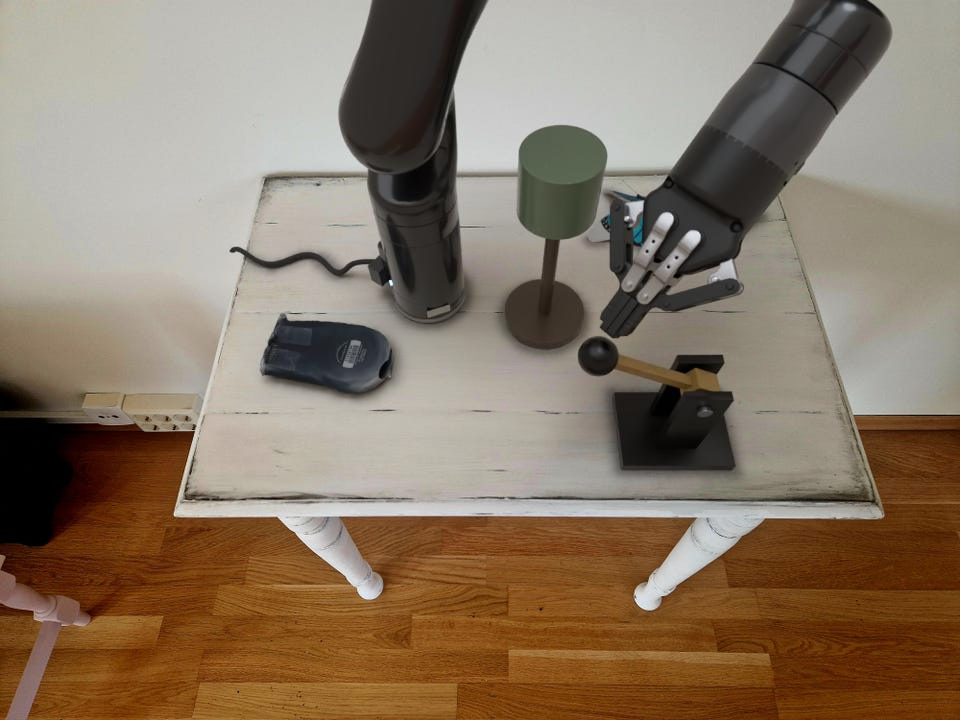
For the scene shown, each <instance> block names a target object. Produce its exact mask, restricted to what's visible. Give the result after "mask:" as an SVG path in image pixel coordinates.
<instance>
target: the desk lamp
mask: <svg viewBox="0 0 960 720" xmlns="http://www.w3.org/2000/svg"><path fill="white" fill-rule="evenodd" d="M517 156H518V159H517V183H516V188H517V189H516V210H515V211H516V216H517V219H518V221H519V223H520V224H521V226H522V227H524V229H526V230H527V231H528V232H529V233H531V234H533V235H535V236H537V237H539V238H541V239H542V238H543V239H544V246H543V248H544V249H543V256H542V267H541V275H540V278H538V279H537V278H536V279H531V280H527V281H525V282H523V283H521V284H519V285H518V286H517V287H515V288H514V289H513V290H512V291H511V292H510V294H509V295H508V296H507V298H506V301H505V304H504V323H505V326H506V328H507V330H508V332H509V334H510V335H511V336H512V337H513V338H514V339H515V340H516V341H518V342H519V343H520V344H522V345H524V346H526V347H529V348H532V349H537V350H545V351H546V350H554V349H558V348H561V347H563V346H566V345H568V344H569V343H571V342H572V341H573V340H575V338H576V337H578V334H579V333H580V331H581V329H582V326H583V322H584V317H585V308H584V307H585V306H584V303H583V301H582V299H581V297H580V296H579V294H578V293H577V291H575V289H573V288H572V287H570V286H569V285H567V284H565V283H564V282H561V281H558V280H556V274H557V267H558V259H559V251H560V246H561V245H560V243H561V240H569V239H573V238H576V237H579V236H581V235H583V234H584V233H586V232H587V231H588V230H590V229H591V228H592V226H593V224H594V223H595V220H596V217H597V212H598V208H599V204H600V198H601V193H602V189H603V182H604V177H605V174H606V167H607V164H608V157H609V156H608V150H607V147H606V145H605V143H604V142H603V141H602V140H601V139H600V137H598V136H597V135H596V134H595V133H593V132H591V131H589V130H587V129H585V128H582V127H579V126H575V125H569V124H554V125H547V126H544V127H540V128H537V129H536V130H534V131H532V132H531V133H529V134H528V135H527V136H526V137H525V138H524V139H523V140H522V142H521V143H520V145H519V148H518V155H517Z"/></svg>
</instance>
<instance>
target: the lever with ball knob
mask: <svg viewBox="0 0 960 720" xmlns="http://www.w3.org/2000/svg"><path fill="white" fill-rule="evenodd" d="M577 363H578V365H579V367H580V368H581V370H582V371H583V372H584V373H586V374H587V375H589V376H592V377H604V376H608V375H610V374H611V373H612V372H614V370H615V371H619V372H622V373H626V374H629V375H633V376H636V377H639V378H643V379H646V380H650V381H653V382H656V383H660V384H662V383H663V384H667V385H670V386H674V387H677V388H680V392H681V396H682V394H683V393H684V391H721V385H720V383H719V379H718V374H714V373H711V372H708V371H704V370H701V369H698V368H694V369H693V370H691V371H689V372H688V373H686V374H683V373H680V372H677V371H673V370H670V368H666V367H663V366H660V365H656V364H653V363H650V362H646V361H644V360H639V359H637V358H634V357H630V356H627V355H623V354H620V353H619V350H618V347H617V346H616V344H615V342H613V341H612V340H611V339H610V338H608V337H605V336H601V335H594V336H591V337H588V338H587V339H585V340H584V341H583V342H582V343H581V344H580V345H579V348H578V351H577Z"/></svg>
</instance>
